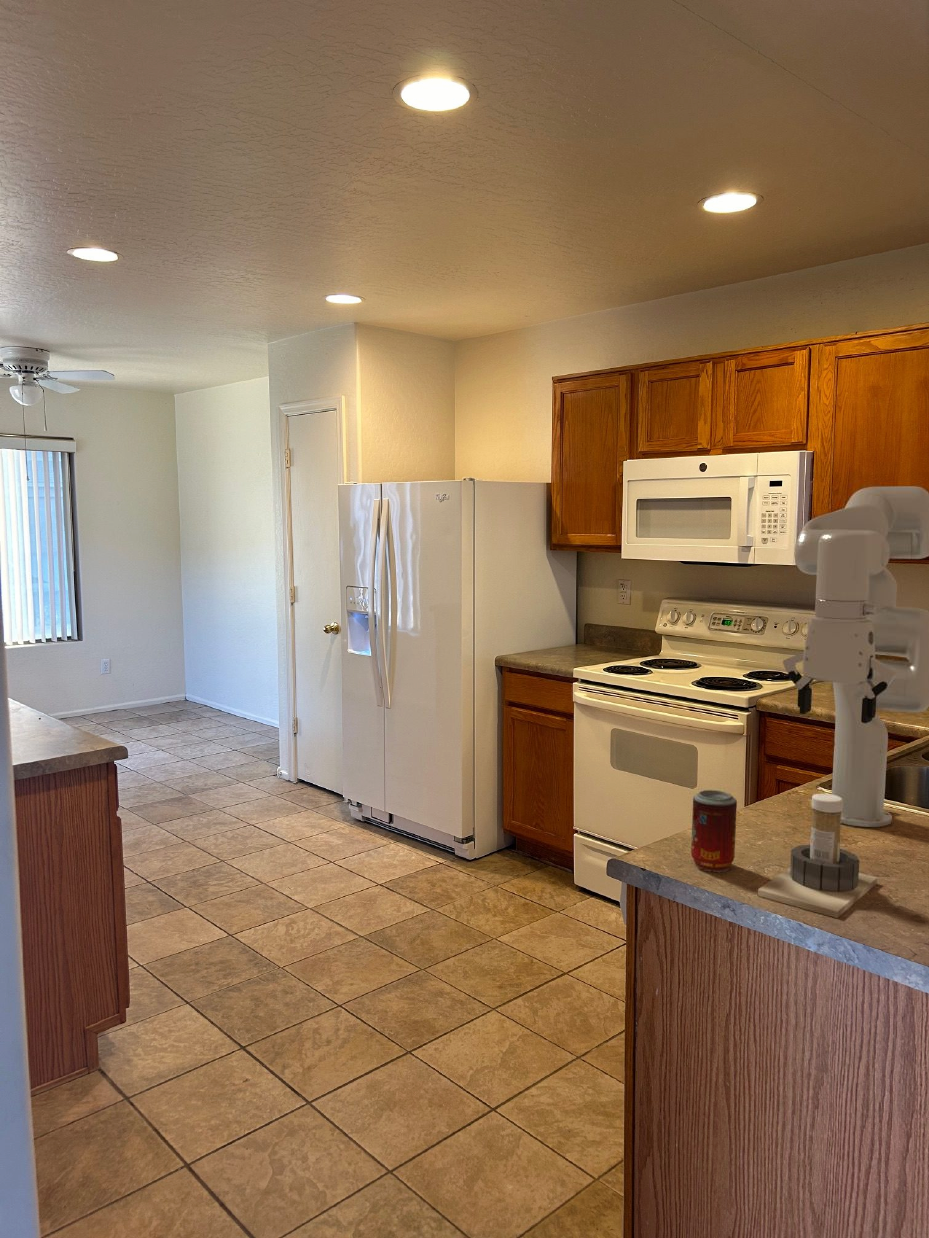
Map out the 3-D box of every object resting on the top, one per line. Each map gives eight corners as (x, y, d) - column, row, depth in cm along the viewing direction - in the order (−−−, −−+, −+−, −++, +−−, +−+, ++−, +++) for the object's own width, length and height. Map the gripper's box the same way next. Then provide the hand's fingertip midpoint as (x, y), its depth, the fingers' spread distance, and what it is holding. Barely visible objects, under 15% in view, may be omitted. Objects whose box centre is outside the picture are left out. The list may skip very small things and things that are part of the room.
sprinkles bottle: (844, 880, 144) (849, 797, 143) (827, 886, 141) (831, 802, 140) (819, 871, 148) (823, 790, 146) (801, 877, 145) (805, 795, 144)
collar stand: (802, 864, 154) (804, 835, 153) (877, 883, 146) (878, 853, 145) (757, 895, 140) (759, 864, 140) (837, 918, 132) (839, 884, 132)
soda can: (690, 856, 157) (693, 786, 156) (733, 860, 155) (736, 790, 154) (690, 870, 150) (693, 798, 149) (734, 875, 148) (738, 802, 147)
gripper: (906, 612, 141) (900, 721, 143) (795, 605, 152) (791, 705, 154) (891, 617, 135) (884, 729, 137) (777, 608, 146) (773, 713, 148)
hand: (835, 717), depth 145 cm, fingers open, 9 cm apart
